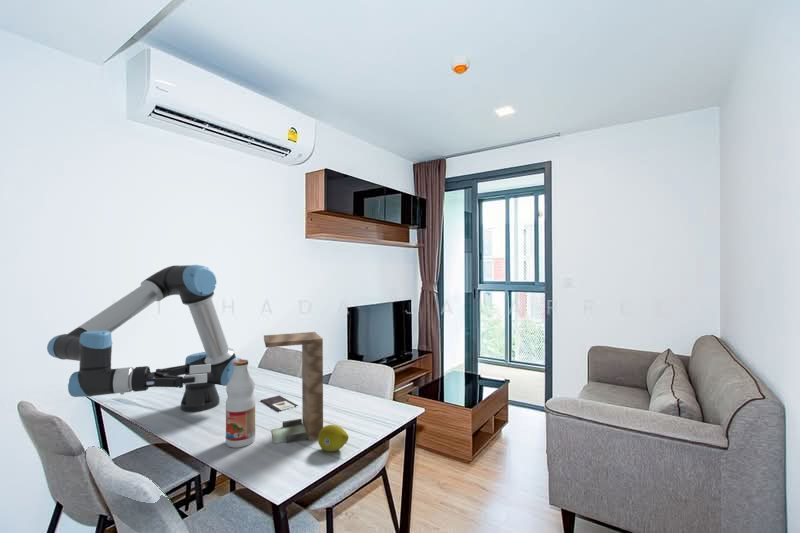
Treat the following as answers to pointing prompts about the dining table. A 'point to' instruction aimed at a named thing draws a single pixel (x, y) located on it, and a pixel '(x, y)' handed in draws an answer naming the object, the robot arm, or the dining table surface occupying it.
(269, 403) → the chocolate bar
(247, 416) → the fruit juice
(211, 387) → the robot arm
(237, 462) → the dining table surface
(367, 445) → the dining table surface
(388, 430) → the dining table surface
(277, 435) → the shelf
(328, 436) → the lemon
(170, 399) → the dining table surface
